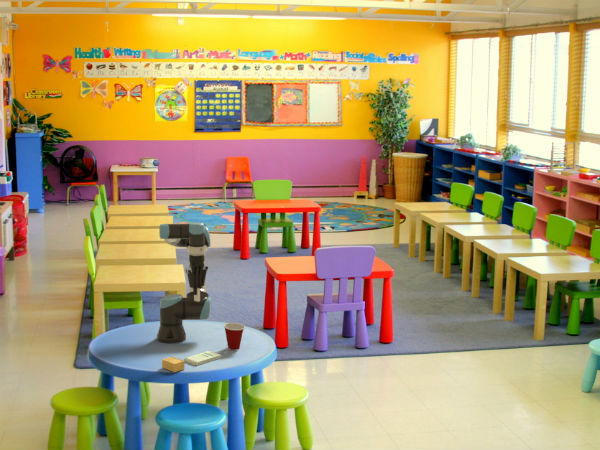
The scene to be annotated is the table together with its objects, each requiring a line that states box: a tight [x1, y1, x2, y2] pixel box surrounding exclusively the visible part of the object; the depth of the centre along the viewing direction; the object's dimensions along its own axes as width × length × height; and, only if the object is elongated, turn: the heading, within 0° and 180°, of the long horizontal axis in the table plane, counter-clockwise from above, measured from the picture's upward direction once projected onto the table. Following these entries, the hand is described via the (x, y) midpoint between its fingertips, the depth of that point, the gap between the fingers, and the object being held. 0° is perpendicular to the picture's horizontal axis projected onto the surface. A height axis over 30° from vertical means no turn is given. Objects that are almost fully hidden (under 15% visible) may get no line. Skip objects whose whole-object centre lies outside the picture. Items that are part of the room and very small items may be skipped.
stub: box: [161, 356, 185, 373], centre depth 381 cm, size 9×6×4 cm, turn 48°
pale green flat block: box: [183, 350, 222, 366], centre depth 395 cm, size 9×16×2 cm, turn 138°
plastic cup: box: [223, 322, 246, 351], centre depth 412 cm, size 11×11×12 cm
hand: (197, 300), depth 402 cm, fingers closed
